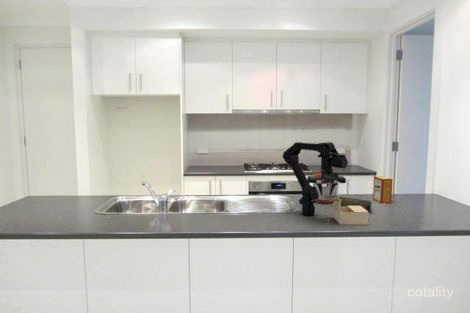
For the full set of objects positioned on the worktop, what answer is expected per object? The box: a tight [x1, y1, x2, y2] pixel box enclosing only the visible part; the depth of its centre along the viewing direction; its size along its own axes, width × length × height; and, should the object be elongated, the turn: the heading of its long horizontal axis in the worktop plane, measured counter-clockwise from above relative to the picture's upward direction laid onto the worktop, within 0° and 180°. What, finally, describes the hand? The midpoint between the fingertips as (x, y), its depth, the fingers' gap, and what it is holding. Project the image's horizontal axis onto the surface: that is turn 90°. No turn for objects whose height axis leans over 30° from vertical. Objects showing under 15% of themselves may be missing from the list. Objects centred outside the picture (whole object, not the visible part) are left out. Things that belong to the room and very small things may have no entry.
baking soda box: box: [372, 175, 393, 205], centre depth 196 cm, size 10×6×16 cm
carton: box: [333, 206, 369, 226], centre depth 159 cm, size 14×11×7 cm
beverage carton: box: [338, 196, 373, 215], centre depth 179 cm, size 8×19×7 cm, turn 61°
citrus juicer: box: [312, 173, 338, 204], centre depth 196 cm, size 16×17×20 cm
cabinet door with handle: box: [324, 194, 341, 213], centre depth 159 cm, size 7×11×6 cm
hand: (325, 195), depth 161 cm, fingers open, 4 cm apart
